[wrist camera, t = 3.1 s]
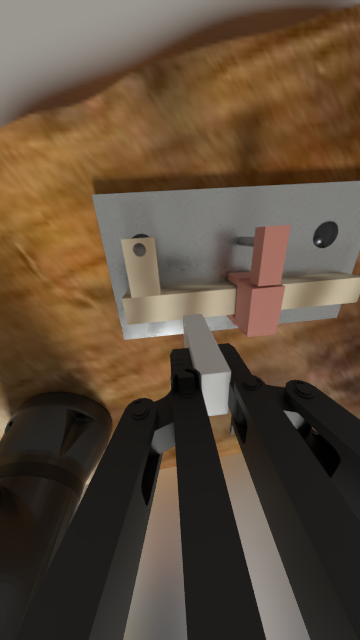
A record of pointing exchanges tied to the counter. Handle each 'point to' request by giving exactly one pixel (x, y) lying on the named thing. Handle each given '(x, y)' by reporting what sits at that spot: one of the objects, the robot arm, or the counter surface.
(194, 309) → the beam with fixed leg
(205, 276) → the steel plate
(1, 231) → the counter surface
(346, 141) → the counter surface
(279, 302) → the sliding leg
